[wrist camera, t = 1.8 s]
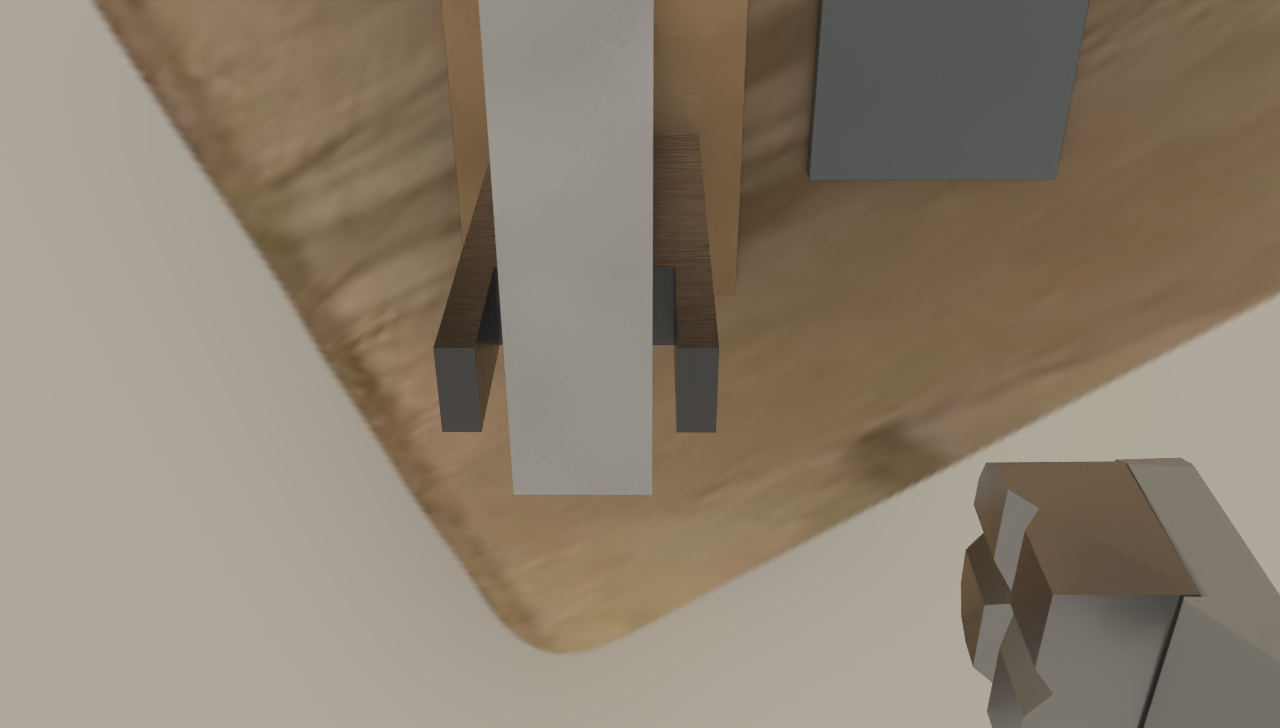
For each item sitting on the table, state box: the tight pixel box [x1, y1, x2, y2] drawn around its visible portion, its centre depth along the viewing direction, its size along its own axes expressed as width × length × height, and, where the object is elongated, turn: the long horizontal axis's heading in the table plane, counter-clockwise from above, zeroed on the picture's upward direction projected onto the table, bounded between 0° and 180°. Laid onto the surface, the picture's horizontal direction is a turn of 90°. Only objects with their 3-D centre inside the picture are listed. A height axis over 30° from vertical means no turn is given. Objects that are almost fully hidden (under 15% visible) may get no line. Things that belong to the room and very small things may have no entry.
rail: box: [478, 0, 654, 495], centre depth 22 cm, size 20×3×3 cm, turn 0°
